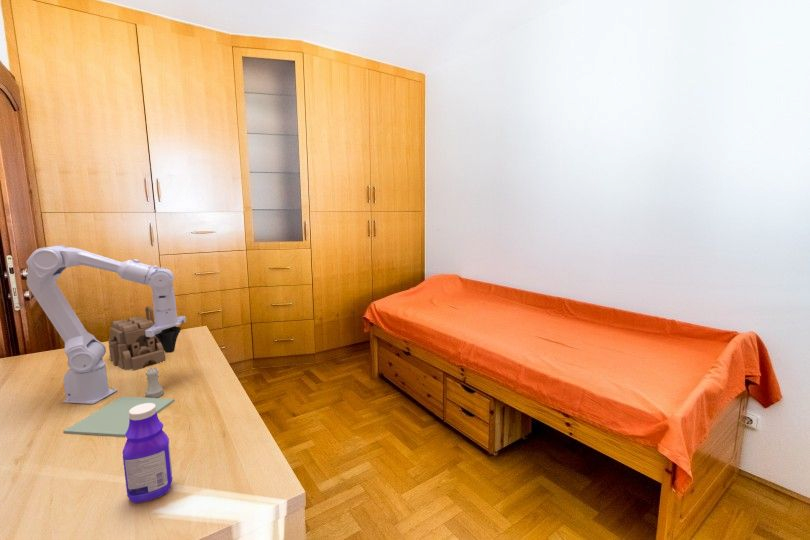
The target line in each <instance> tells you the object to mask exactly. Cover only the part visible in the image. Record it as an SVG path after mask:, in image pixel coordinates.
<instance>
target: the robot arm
mask: <svg viewBox="0 0 810 540" xmlns="http://www.w3.org/2000/svg"><path fill="white" fill-rule="evenodd" d="M25 262H26V265H27V274H26V285H27V288H28V289H29V291H30V292H31V294H32V295H33V297H34V298H35V300H36V301H37V303H38V304H39V306H40V307H41V308H42V310H43V312H44V313H45V315H46V316H47V318H48V319H49V321H50V323H51V324H52V326H53V327H54V328H55V330H56V331H57V333H58V334H59V335H60V337H61V339H62V341H63V342H64V353H65V355H66V356H67V366H68V368H69V369H68V370H67V371H66V372H65V374H64V375H63V379H62V380H63V388H64V393H65V399H64V400H63V401H62V402H63V403H64V404H65V403H66V404H67V403H68V404H70V403H71V404H87V405H90V404H91V405H93V404H97V403H98V402H100V401H101V400H103V399H105V398H107V397H109V396H110V395H112V394H114V393H116V392H118V389H117V388H110V387H109V380H108V374H107V373H108V372H107V366H106V362H105V360H104V359H103V358H104V356H105V355H106V353H107V348H106V346H105V344H104V343H103V342H101V341H100V340H98V339H97V338H96V337H95V335H94V334H92V333H90V332H88V331H87V329H86V328H85V327H84V325H83V323H82V322H81V320H80V319H79V316H78V315H77V314H76V312H75V311H74V308H73V307H72V306H71V304H70V303H69V301H68V299H67V298H66V297H65V295H64V293H63V291H62V290H61V289H60V287H59V286H58V283H57V281H58V280H59V278H60V276H61V275H62V273H63V272H64V270H66V269H67V268H71V267H76V266H78V267H79V266H86V267H91V268H94V269H95V268H96V269H99V270H103V271H108V272H112V273H115V274H118V276H119V277H120V279H122V280H125V281H129V282H134V283H138V284H141V285H145V286H147V285H149V287H150V288H151V292H152V294H151V298H152V305H153V317H154V323H155V324H154V325H153V326H152V327H150V328H149V329H147V330H145V334H146V337H153V336H156V337H157V338H158V339H159V341H160V342H161V344H162V346H163V348H164V352H165V354H166V353H167V354H168V353H169V354H171V353H173V352H175V349H176V343H177V341H178V336H179V334H180V333H181V330H182V328H181V327H180V326H181V324H184V323H185V324H186V323H187V318H186V317H187V316H185V315H180V316H178V313H177V312H178V311H177V304H176V303H177V301H176V294H175V287H174V284H173V283H174V281H175V275H174V273H173V271H171V270H170V269H169V268H167V267H159V266H158V265H156V264H155V265H150V264H146V263H143V262H140V259H135V258H134V259H133V260H132V259H128V260H124V261H119V260H117V259H112V258H110V257H106V256H103V255H100V254H97V253H93V252H91V251H88V250H84V249H81V248H78V247H71V246H69V247H68V246H66V245H64V244H63V245H62V244H55V245H52V246H48V247H40V248H37V249H35V250H34V251H33V252H32V253H31V255H30V256H29V257H28V259H27V260H26V261H25Z"/></svg>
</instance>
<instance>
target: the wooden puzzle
mask: <svg viewBox="0 0 810 540" xmlns="http://www.w3.org/2000/svg"><path fill="white" fill-rule="evenodd" d="M144 311H145V318H144V317H143V316H141V315H139V316H134V317H129V318H127V319H126V318H123V319H119V320H113V321H112V322H111V326H110V327H109V336H110V337H109V338H108V339H107V340H108V349H109V357H110V361H111V362H112V365H113V366H114V367H119V368H120V369H122V370H125V371H130V370H132V371H138V370H141V369H144V366H145V365H148V364H156V363H159V364H161V363H160V362H162V363H164V362H163V361H165V362H166V355H165V354H166V353H165V351H164V348H163V346H162V344H161V342H160V341H159V339H158V338H157V337H156V336H153V337H146V334H145V330H147V329H149V328H150V327H152V326H153V325H154V324H155V316H154V309H153V308H152V306H150V305H148V306H146V307H145V309H144ZM149 361H150V362H149ZM153 362H154V363H153ZM147 363H148V364H147ZM144 364H145V365H144Z"/></svg>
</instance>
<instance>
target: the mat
mask: <svg viewBox="0 0 810 540" xmlns="http://www.w3.org/2000/svg"><path fill="white" fill-rule="evenodd" d="M175 401H176V400H175V398H164V397H163V398H160V397H158V398H147V397H139V396H121V397H119V398H117V399H116V400H114V401H112V402H110V403H108V404H106V405H105V406H104V407H101V408H100V409H98V410H96V411H95V412H93V413H91V414H90V415H88V416H86V417H84V418H83V419H81V420H79V421H78V422H75V423H74V424H73V425H70V427H67V428H66V429H64V430H63V431H62V433H63V434H68V435H69V434H70V435H87V436H104V437H117V438H118V437H120V438H121V437H122V438H126V436H125V433H126V432H127V430H128V427H129V410H130V409H131V408H133V407H135V406H137V405H140V404H144V403H153V404H155V405H156V410H157V411H156V412H157V414H158V413H159V414H160V412H162V411H163V410H165V409H166V408H167V407H168V406H170V405H172V404H173V403H174V402H175Z"/></svg>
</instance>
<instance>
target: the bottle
mask: <svg viewBox="0 0 810 540" xmlns="http://www.w3.org/2000/svg"><path fill="white" fill-rule="evenodd" d="M156 411H157V410H156V405H155V404H153V403H144V404H140V405H137V406H135V407H133V408H131V409H130V410H129V427H128V430H127V432H126V433H125V438H126V441H125V443H124V444H125V445H124V447H123V449H122V460H123V462H122V463H123V470H124V479H125V488H126V495H127V497H128V500H129V501H130V502H131V503H135V504H138V503H143V502H147V501H152V500H154V499H157V498H160V497H162V496H164V495H165V494H167V493H168V491H169V490H170V489H171V486H172V482H173V479H174V478H173V470H172V469H173V467H172V458H171V450H170V449H171V448H170V447H171V446H170V438H169V437H168V436H169V435H167V433H166V432H165V431H164V430H163V428H164V423H163V422H162V421H161V420H160V419H159V416H158V413H157V412H156Z"/></svg>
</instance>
